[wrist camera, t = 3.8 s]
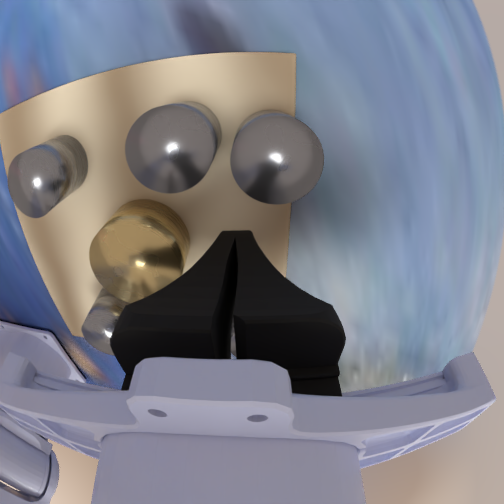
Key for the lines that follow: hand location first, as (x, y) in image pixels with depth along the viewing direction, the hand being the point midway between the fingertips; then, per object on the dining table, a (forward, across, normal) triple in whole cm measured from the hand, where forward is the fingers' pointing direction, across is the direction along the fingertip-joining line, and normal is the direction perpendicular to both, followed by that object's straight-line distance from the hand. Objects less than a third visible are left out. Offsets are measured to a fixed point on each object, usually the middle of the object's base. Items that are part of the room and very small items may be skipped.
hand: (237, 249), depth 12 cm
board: (+2, +6, 0) cm, 6 cm away
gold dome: (+1, +4, 0) cm, 5 cm away
